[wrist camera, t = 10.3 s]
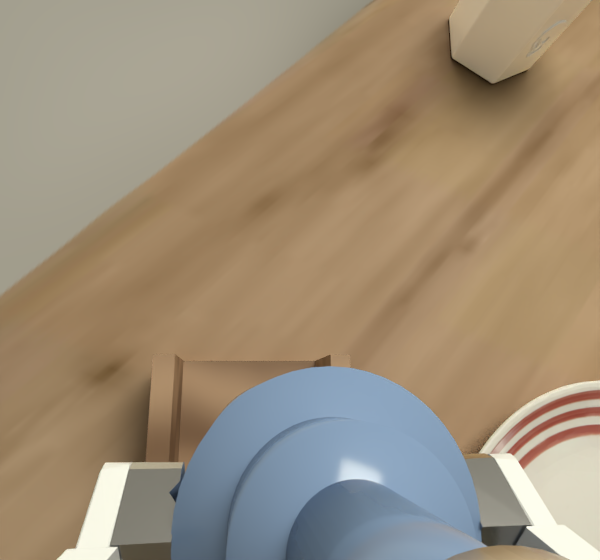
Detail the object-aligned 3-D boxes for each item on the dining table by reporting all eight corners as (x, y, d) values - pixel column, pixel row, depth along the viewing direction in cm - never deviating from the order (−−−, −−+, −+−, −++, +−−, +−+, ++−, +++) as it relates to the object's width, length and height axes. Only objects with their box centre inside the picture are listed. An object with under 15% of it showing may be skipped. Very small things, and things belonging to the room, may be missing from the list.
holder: (166, 362, 31) (153, 354, 25) (329, 362, 32) (350, 354, 27) (156, 530, 28) (138, 562, 22) (333, 520, 30) (357, 548, 24)
